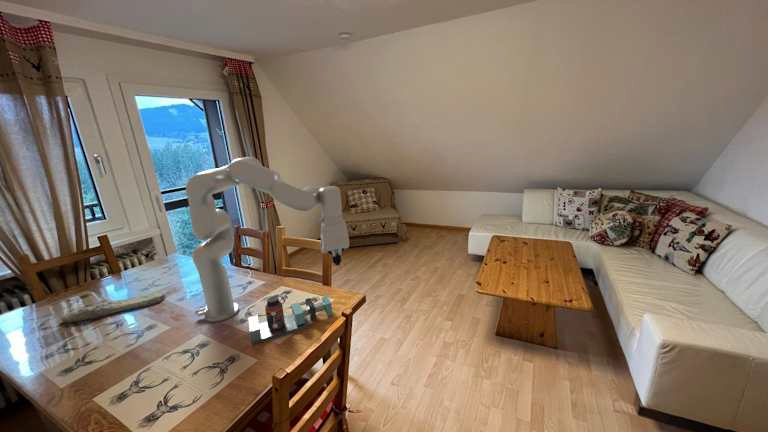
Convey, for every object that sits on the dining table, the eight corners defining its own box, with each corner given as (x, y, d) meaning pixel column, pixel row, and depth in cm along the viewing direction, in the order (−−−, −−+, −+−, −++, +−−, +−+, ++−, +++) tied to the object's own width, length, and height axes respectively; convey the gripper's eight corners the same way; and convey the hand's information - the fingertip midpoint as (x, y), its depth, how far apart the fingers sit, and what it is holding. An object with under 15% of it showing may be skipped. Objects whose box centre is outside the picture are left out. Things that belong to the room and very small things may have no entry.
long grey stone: (163, 307, 133) (168, 297, 141) (161, 296, 132) (166, 287, 140) (56, 328, 118) (68, 316, 126) (53, 316, 117) (65, 304, 125)
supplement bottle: (279, 331, 108) (275, 304, 105) (265, 330, 109) (260, 303, 106) (288, 321, 114) (284, 295, 110) (273, 320, 115) (269, 294, 112)
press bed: (252, 345, 103) (249, 328, 101) (250, 329, 112) (247, 313, 110) (317, 325, 113) (315, 309, 111) (311, 311, 122) (309, 296, 120)
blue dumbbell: (296, 326, 110) (295, 314, 109) (292, 315, 117) (291, 304, 116) (333, 315, 116) (331, 304, 115) (327, 305, 123) (326, 294, 122)
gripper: (315, 225, 105) (320, 272, 110) (354, 218, 111) (358, 263, 116) (310, 220, 111) (315, 265, 116) (348, 213, 117) (351, 256, 123)
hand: (337, 264), depth 116 cm, fingers closed
